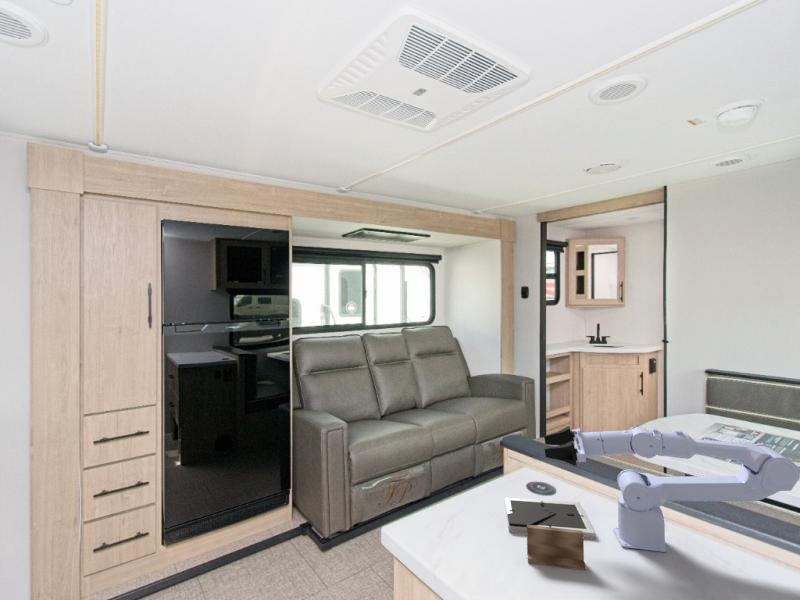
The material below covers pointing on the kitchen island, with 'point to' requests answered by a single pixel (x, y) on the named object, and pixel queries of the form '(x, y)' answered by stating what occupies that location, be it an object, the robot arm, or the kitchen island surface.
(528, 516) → the picture frame
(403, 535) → the kitchen island surface
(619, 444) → the robot arm
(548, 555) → the walnut bookend
